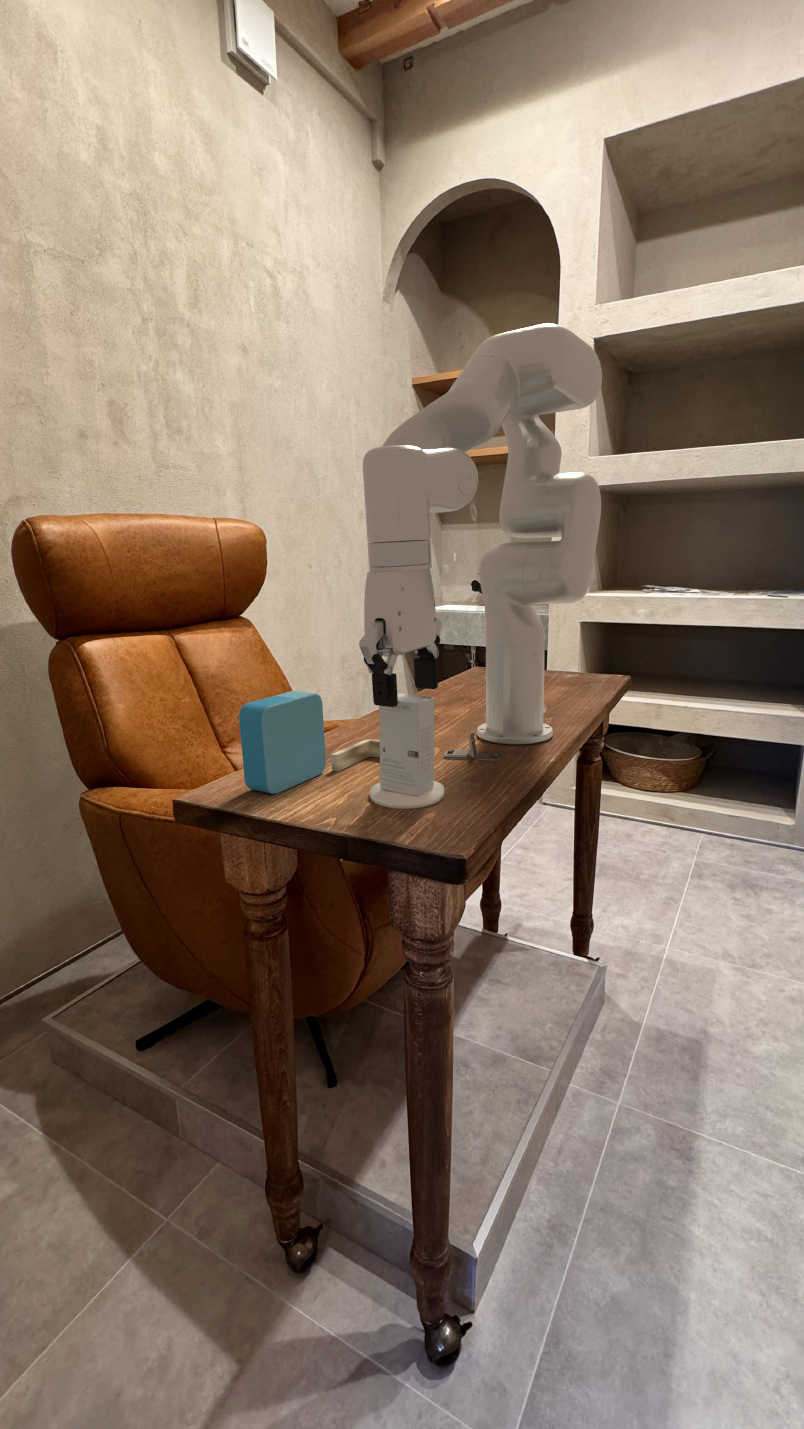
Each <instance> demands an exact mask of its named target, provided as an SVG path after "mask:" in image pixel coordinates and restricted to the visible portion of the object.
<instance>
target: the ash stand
mask: <svg viewBox="0 0 804 1429" xmlns="http://www.w3.org/2000/svg"><path fill="white" fill-rule="evenodd" d="M330 757H331V758H330V759H331V771H333V772H340V771H342V770H344V769H346V768H349V767H350V766H352V765H356V764H357V763H359V762H361V761H363V760H366V759H367V758H370V757H372V758H373V757H374V758H379V759H380V739H376V738H375V739H374V738H366V739H364V740H361V741H359V742H356V743H354V744H352V745H350V746H347V747H345V748H343V749H340V750H338V751H335V752H333V753H331V754H330Z"/></svg>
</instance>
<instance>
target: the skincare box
mask: <svg viewBox="0 0 804 1429" xmlns="http://www.w3.org/2000/svg"><path fill="white" fill-rule="evenodd" d="M397 695H398V705H397V706H395V707H387V706H379V707H378V708H379V709H378V711H379V718H378V719H379V720H378V722H379V724H378V725H379V728H378V729H379V740H380V758H379V781H380V787H381V789H385V790H389V791H393V792H398V793H403V794H408V795H413V796H419V795H421V794H423V793H425V792H426V791H428V790H430V789H431V788H432V787H433V786H434V781H435V767H434V766H435V704H436V703H435V701H436V700H435V697H433V696H432V697H431V696H426V695H419V694H411V693H400V692H397Z"/></svg>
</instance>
